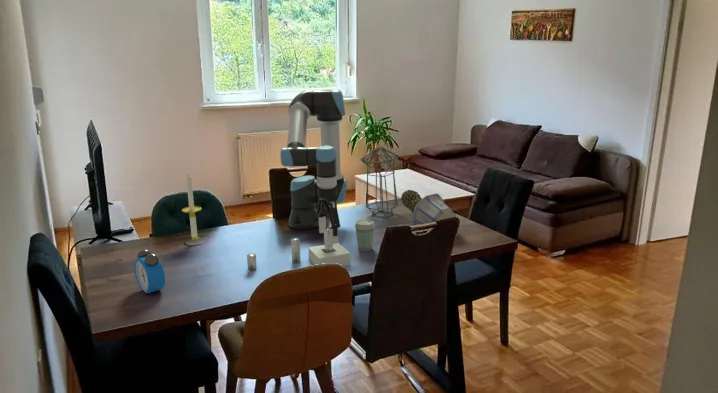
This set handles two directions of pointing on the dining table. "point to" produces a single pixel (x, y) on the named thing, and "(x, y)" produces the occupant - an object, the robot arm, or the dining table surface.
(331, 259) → the hole block
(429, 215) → the potted plant
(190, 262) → the dining table surface
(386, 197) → the geometric lantern
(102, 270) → the dining table surface
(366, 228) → the coffee cup
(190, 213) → the candlestick
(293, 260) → the medium pin
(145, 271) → the alarm clock
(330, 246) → the long pin
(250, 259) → the short pin
